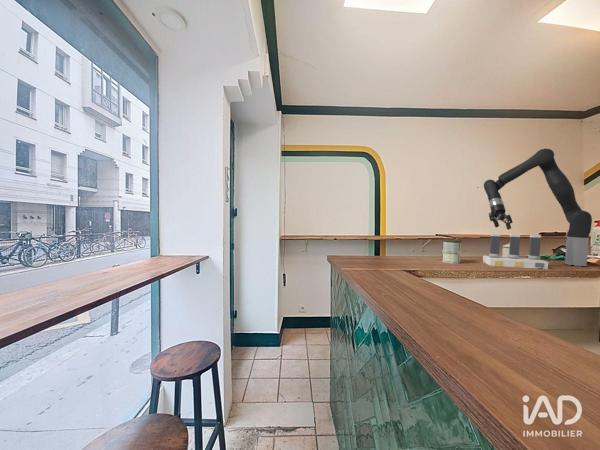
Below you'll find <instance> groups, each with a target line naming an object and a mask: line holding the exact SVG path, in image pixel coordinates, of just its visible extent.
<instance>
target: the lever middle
mask: <svg viewBox="0 0 600 450" xmlns="http://www.w3.org/2000/svg"><path fill="white" fill-rule="evenodd" d="M509 242H510V248H509V255H508V257H509V258H516V259H519V258H521V257H520V245H521V233H509Z"/></svg>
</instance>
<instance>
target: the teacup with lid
mask: <svg viewBox="0 0 600 450" xmlns="http://www.w3.org/2000/svg"><path fill="white" fill-rule="evenodd" d="M501 247H502V254H501V257H508V255H509V248H510V241H509V243H507V244H503V245H502V246H501Z"/></svg>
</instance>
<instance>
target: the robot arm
mask: <svg viewBox="0 0 600 450" xmlns="http://www.w3.org/2000/svg"><path fill="white" fill-rule="evenodd" d="M537 167H539V168H540V170H541V171H542V173H543V175H544V177H545V180H546V182H547V184H548V188H549V189H550V191H551V193H552V194H553V196H554V198H555V199H556V201H557V202H558V203H559V205H560V207H561V208H562V211H563V214H564V215H565V219H566V221H567V222H568V224H569V227H568V230H567V232H566V244H565V257H564V258H565V259H564V265H566V264H567V266H571V265H574V266H573V267H581V266H586V267H587V264H588V254H589V239H590V233H591V231H592V224H593V217H592V215H591V213H590V212H588V211H586V210H583V209H582V208H581V207H580V205H579V203H578V202H577V199H576V194H575V189H574V187H573V185H572V183H571V181H569V179H568V177H567V176H566V175H565V174H564V172H563V171H562V170H561V169H560V168H559V166H558V164H557V162H556V160H555V152H554V151H553V149H551V148H541V149H539V150H537V152H535V153H534V154H533V155H532V156H530V157H529V158H528V159H526V160H525V161H523V162H522V163H519V164H517V165H516V166H514V167H512V168H510V169H509V170H507V171H505V172H503V173H501V174H500V175H498V178H497V180H496V181H495V180H494V179H487V180H485V181H484V183H483V189H484V192H485V193H486V195H487V199H488V203H489V208H490V212H489V213H488V217H489V221H490V222H492V223H493V224H494V225H493V226H494V228H498V227H500V224H499V221H501V222H502V223H504V224H505V227H506V229H507V230H508V231H509V230H511V229H512V226H511V224H513V223H514V222H513V220H512V216H511V214H506V210H507V209H506V207H505V204H504V201H503V199H502V196H501V193H500V192H499V191H500V190H501V189H502V188H503V187H506V185H507V184H508V183H510V182H513V181H514V180H516V179H517V178H519V177H521V176H522V175H524V174H526V173H528V171H530V170H532V169H535V168H537Z"/></svg>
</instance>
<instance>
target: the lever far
mask: <svg viewBox="0 0 600 450" xmlns="http://www.w3.org/2000/svg"><path fill="white" fill-rule="evenodd" d="M501 234H502V233H499V232H498V233H496V232H494V233H493V232H492V233H491V232H490V241H489V243H490V244H489V245H490V246H489V254H488V256H489V257H497V258H499V257H501V255H500V244H501Z"/></svg>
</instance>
